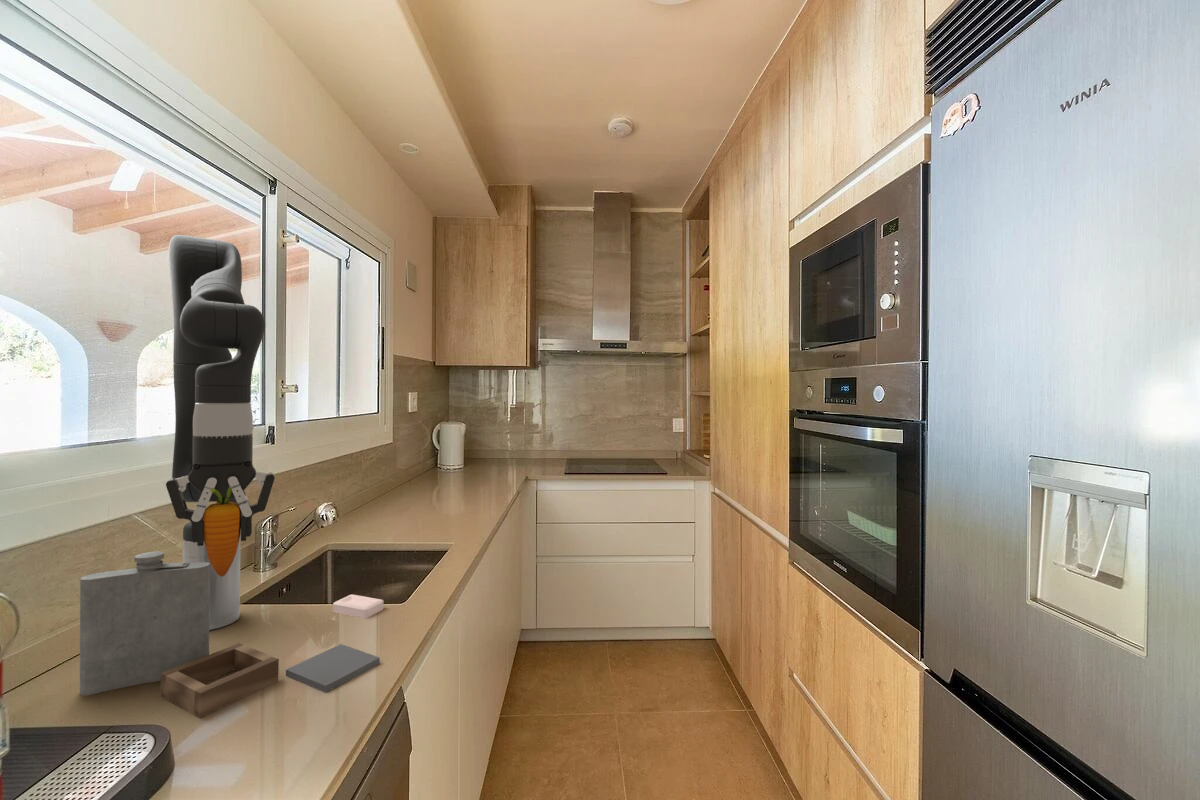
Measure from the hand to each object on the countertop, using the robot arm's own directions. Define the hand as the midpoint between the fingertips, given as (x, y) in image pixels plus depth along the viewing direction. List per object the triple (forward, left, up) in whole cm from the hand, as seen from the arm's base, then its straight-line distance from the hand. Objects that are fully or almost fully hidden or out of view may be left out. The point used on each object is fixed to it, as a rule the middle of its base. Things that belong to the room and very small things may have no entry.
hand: (222, 541), depth 81 cm
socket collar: (0, 0, -23) cm, 23 cm away
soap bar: (-7, +30, -23) cm, 39 cm away
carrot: (0, 0, -6) cm, 6 cm away
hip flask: (-13, -4, -23) cm, 27 cm away
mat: (+10, +12, -23) cm, 28 cm away
